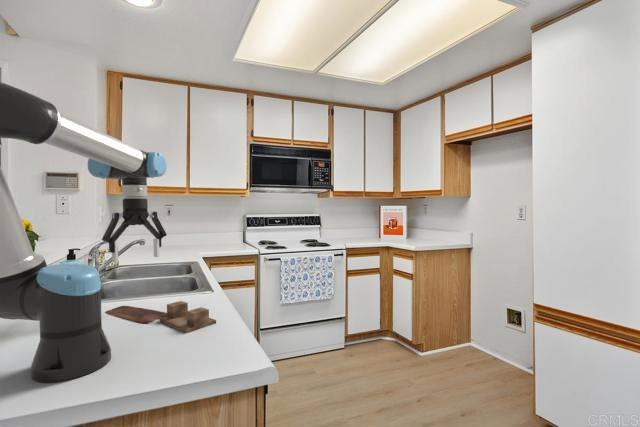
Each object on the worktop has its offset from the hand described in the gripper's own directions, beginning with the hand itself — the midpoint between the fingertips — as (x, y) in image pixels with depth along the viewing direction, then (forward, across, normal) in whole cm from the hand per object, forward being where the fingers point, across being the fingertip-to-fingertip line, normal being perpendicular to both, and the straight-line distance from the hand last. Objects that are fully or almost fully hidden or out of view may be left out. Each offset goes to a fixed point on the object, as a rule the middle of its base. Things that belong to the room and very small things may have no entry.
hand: (136, 259), depth 117 cm
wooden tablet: (+20, -1, +1) cm, 20 cm away
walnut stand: (+19, +5, -22) cm, 30 cm away
